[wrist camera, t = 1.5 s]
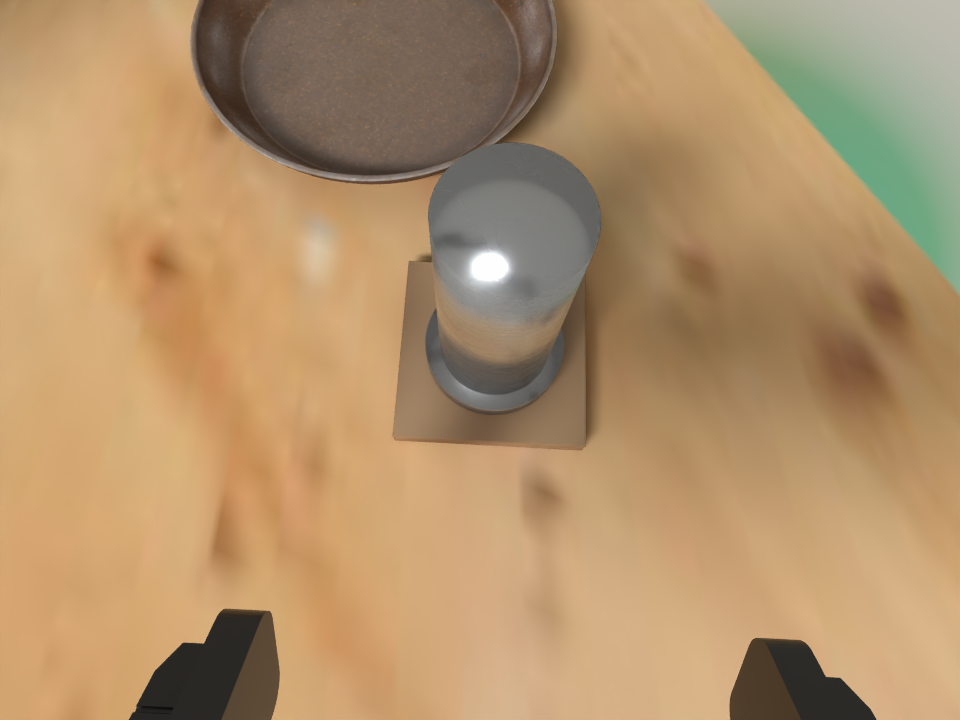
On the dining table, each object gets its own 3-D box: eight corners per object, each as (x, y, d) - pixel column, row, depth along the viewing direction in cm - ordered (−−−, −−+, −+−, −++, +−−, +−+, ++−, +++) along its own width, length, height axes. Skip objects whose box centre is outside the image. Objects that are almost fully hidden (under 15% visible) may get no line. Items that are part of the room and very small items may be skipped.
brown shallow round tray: (209, -42, 35) (187, -97, 32) (519, -68, 36) (525, -122, 33) (216, 236, 30) (189, 201, 27) (578, 194, 31) (590, 157, 28)
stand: (395, 440, 27) (392, 435, 26) (410, 270, 29) (408, 260, 28) (581, 450, 27) (585, 446, 26) (581, 280, 29) (585, 271, 28)
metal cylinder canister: (405, 386, 26) (370, 271, 16) (455, 270, 28) (453, 98, 18) (534, 435, 26) (585, 349, 15) (577, 314, 28) (649, 164, 17)
